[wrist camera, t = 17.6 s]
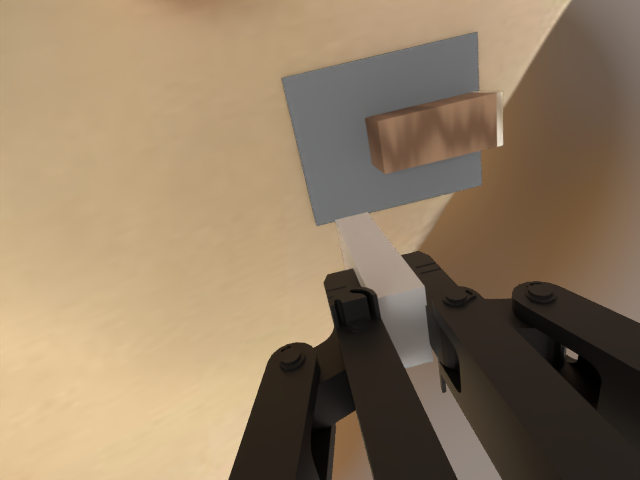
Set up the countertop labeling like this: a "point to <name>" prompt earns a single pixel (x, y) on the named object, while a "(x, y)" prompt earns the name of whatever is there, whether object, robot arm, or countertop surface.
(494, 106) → the block
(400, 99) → the mat
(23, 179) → the countertop surface
